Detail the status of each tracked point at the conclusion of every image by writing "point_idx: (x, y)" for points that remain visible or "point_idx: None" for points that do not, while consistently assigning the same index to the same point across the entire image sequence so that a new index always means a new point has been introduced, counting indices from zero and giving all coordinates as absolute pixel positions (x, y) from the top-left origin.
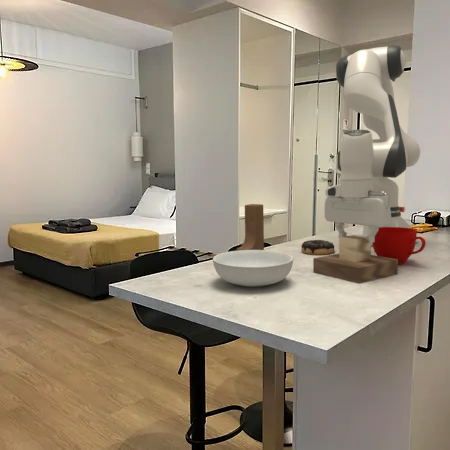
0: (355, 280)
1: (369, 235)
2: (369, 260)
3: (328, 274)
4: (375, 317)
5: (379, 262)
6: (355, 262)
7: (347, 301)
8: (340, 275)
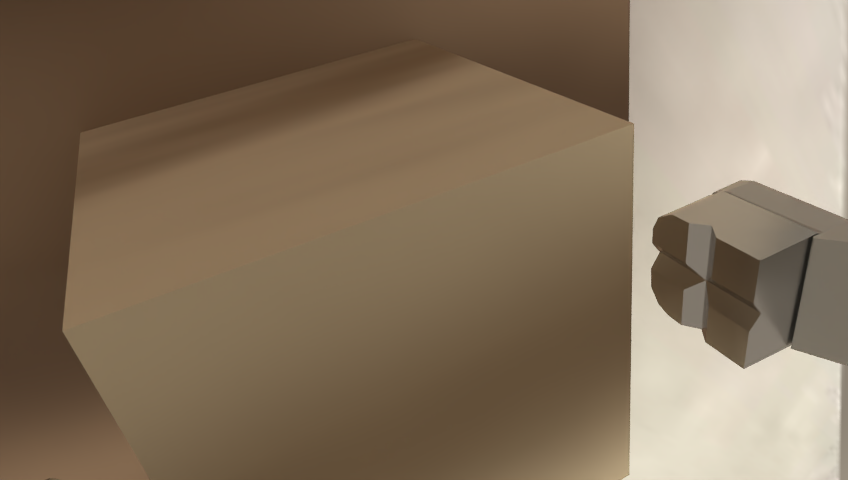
0: None
1: (825, 348)
2: None
3: None
4: (834, 424)
5: (598, 72)
6: None
7: (702, 458)
8: None
